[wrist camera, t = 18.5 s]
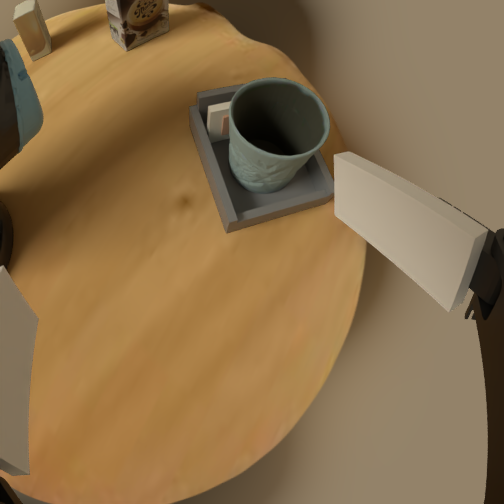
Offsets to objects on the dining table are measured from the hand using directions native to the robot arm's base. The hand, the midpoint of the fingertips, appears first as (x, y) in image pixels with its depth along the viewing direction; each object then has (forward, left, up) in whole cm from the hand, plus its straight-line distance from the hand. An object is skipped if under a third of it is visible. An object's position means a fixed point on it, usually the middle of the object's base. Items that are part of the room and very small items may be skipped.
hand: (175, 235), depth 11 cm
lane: (-5, +19, -27) cm, 33 cm away
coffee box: (-38, +28, -27) cm, 54 cm away
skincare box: (-54, +14, -27) cm, 62 cm away
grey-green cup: (-4, +18, -26) cm, 32 cm away
